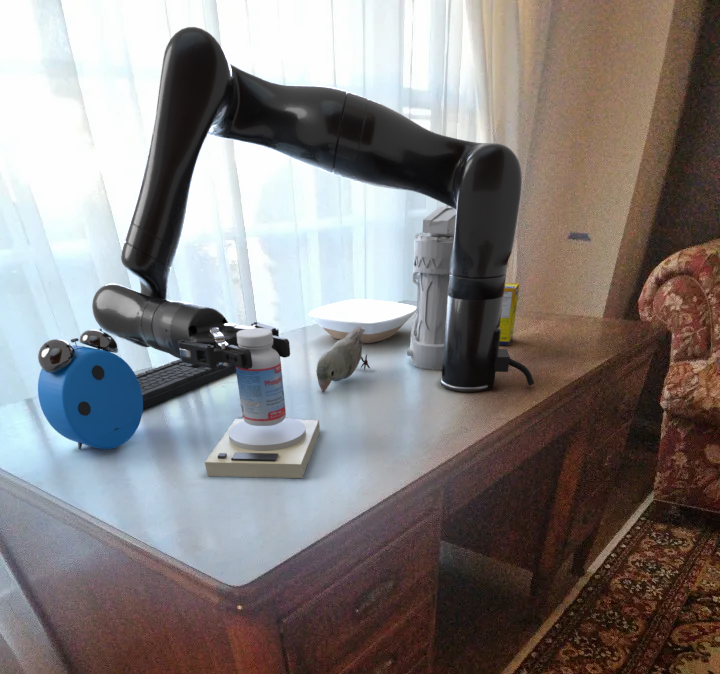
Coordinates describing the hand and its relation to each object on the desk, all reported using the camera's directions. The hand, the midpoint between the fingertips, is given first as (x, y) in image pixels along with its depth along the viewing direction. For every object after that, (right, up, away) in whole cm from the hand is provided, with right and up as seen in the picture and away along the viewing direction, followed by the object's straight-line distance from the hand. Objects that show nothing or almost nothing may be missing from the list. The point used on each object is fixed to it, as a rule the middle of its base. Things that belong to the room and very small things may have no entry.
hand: (269, 354), depth 74 cm
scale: (-2, -10, +9) cm, 13 cm away
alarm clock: (-26, -8, +12) cm, 30 cm away
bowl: (+13, +33, +58) cm, 69 cm away
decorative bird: (+8, +12, +34) cm, 37 cm away
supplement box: (+42, +29, +52) cm, 73 cm away
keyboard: (-24, +11, +33) cm, 42 cm away
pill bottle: (-2, -6, +7) cm, 10 cm away
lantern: (+28, +19, +42) cm, 54 cm away
